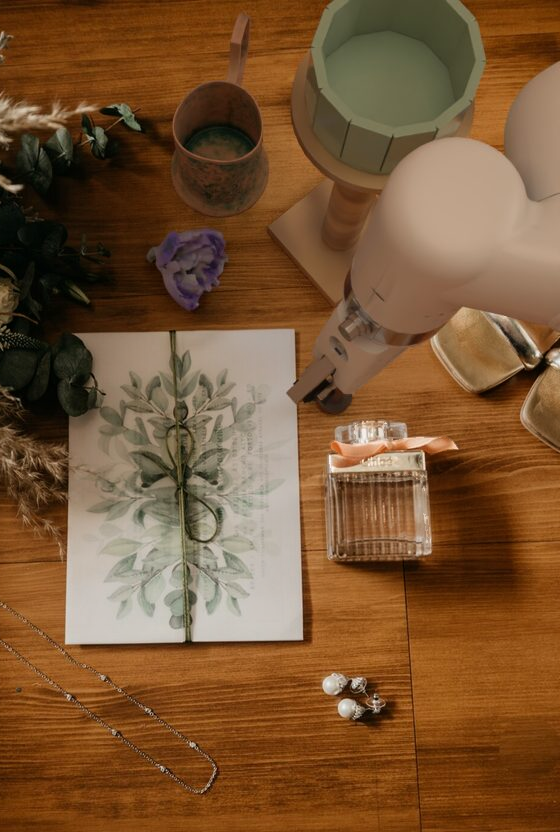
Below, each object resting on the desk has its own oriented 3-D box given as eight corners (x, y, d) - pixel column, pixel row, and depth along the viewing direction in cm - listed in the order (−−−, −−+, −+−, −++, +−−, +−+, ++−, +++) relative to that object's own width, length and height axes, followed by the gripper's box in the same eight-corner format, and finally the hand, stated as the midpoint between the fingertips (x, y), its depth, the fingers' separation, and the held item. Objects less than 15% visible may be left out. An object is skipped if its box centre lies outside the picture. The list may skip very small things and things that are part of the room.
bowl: (390, -1, 59) (406, -58, 54) (492, 109, 58) (519, 63, 53) (274, 92, 58) (277, 44, 53) (375, 205, 58) (390, 169, 52)
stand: (345, 152, 85) (391, -20, 59) (428, 245, 84) (513, 111, 58) (248, 230, 84) (253, 90, 58) (332, 325, 83) (374, 225, 57)
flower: (108, 265, 77) (189, 258, 73) (137, 213, 81) (215, 204, 77) (145, 327, 84) (221, 324, 80) (171, 277, 88) (243, 271, 84)
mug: (291, 90, 86) (299, 17, 74) (255, 227, 84) (258, 174, 72) (198, 68, 86) (191, -10, 74) (160, 204, 85) (147, 147, 73)
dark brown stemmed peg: (334, 374, 83) (351, 344, 71) (357, 400, 82) (377, 375, 71) (308, 396, 83) (320, 370, 71) (331, 422, 82) (347, 401, 70)
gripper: (340, 413, 46) (310, 449, 63) (536, 248, 48) (455, 326, 65) (265, 326, 47) (255, 385, 64) (461, 165, 48) (400, 265, 65)
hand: (356, 355), depth 64 cm, fingers open, 9 cm apart
